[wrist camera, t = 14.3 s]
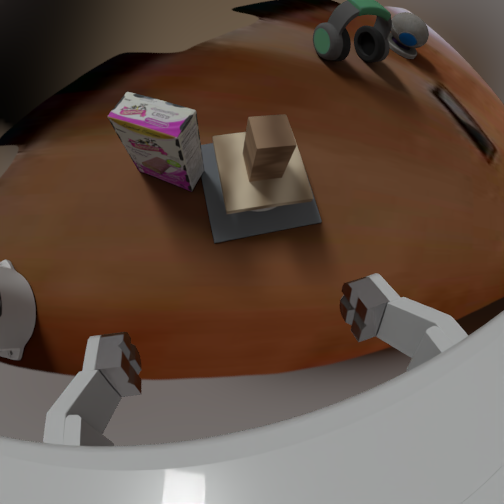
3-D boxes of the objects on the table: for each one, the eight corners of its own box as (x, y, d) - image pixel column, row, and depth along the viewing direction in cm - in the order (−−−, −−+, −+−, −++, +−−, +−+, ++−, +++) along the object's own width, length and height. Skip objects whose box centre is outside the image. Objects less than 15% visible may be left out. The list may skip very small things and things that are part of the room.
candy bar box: (137, 172, 46) (104, 116, 30) (151, 150, 47) (126, 89, 31) (192, 194, 46) (176, 138, 30) (206, 170, 47) (197, 107, 31)
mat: (214, 243, 45) (214, 242, 44) (196, 147, 48) (195, 146, 48) (320, 222, 48) (321, 221, 47) (291, 134, 51) (292, 133, 51)
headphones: (325, 69, 57) (353, 8, 38) (306, 44, 59) (326, -14, 39) (381, 70, 60) (413, 21, 41) (361, 46, 62) (386, -2, 43)
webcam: (414, 48, 68) (433, 21, 53) (415, 64, 64) (437, 35, 50) (382, 30, 67) (398, 1, 53) (380, 44, 64) (399, 12, 50)
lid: (226, 214, 41) (229, 182, 31) (212, 140, 43) (212, 98, 34) (311, 201, 43) (335, 170, 33) (289, 132, 45) (305, 92, 35)
